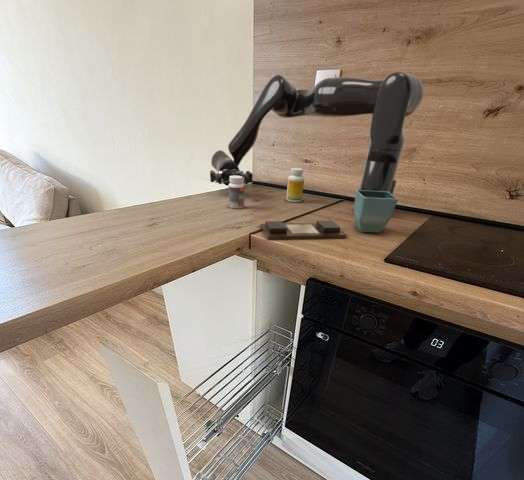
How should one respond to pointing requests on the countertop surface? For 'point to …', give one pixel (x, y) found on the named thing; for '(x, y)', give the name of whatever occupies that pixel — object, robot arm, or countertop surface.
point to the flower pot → (373, 209)
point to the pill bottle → (236, 192)
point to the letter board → (301, 230)
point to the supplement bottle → (295, 185)
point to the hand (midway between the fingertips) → (233, 180)
